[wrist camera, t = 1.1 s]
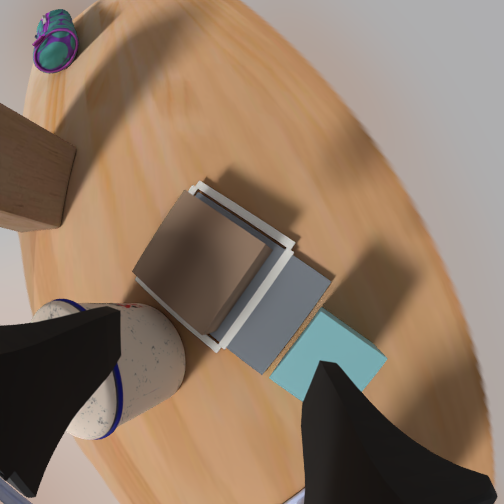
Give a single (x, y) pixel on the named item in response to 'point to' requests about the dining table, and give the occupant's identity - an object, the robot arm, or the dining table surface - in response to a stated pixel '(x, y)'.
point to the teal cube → (327, 355)
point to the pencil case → (55, 42)
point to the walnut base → (200, 263)
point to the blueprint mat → (261, 294)
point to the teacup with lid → (128, 367)
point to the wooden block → (31, 174)
